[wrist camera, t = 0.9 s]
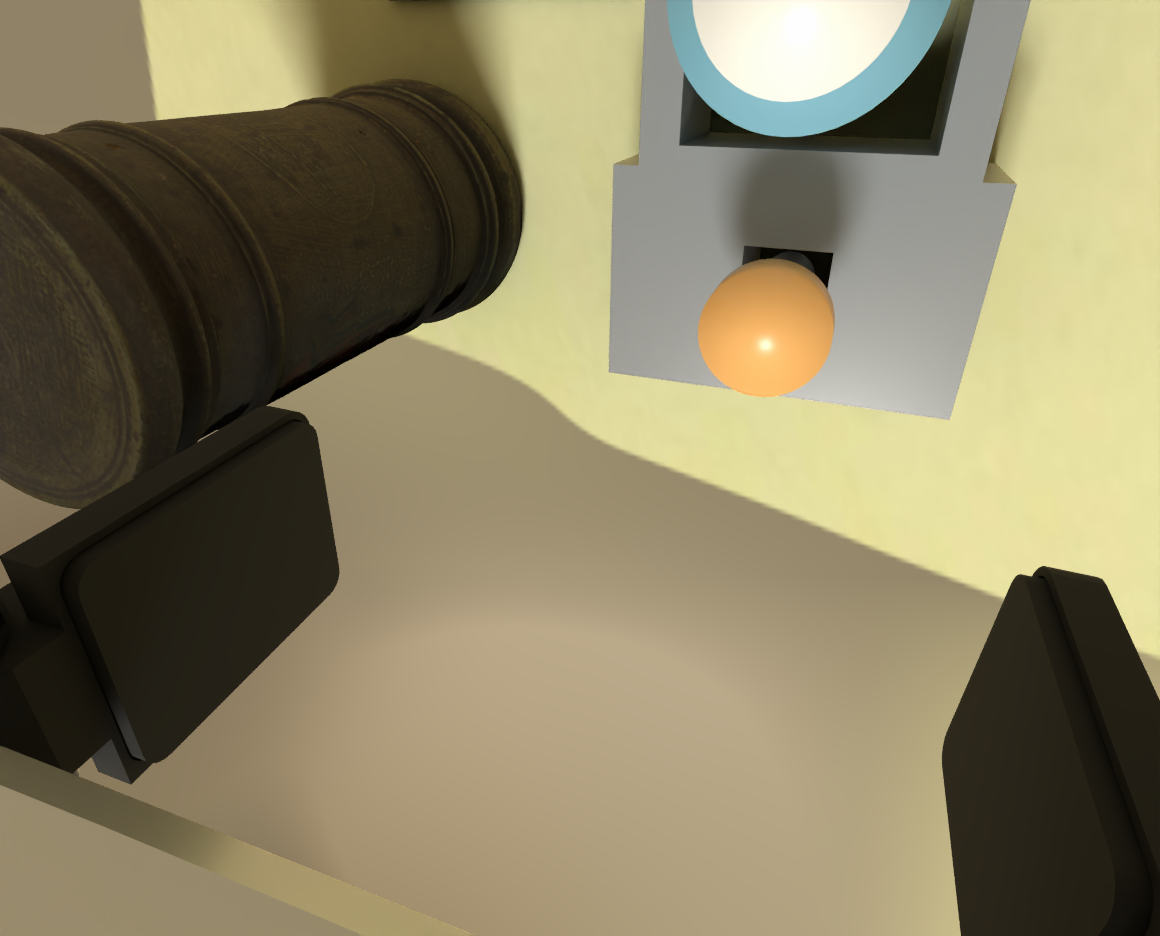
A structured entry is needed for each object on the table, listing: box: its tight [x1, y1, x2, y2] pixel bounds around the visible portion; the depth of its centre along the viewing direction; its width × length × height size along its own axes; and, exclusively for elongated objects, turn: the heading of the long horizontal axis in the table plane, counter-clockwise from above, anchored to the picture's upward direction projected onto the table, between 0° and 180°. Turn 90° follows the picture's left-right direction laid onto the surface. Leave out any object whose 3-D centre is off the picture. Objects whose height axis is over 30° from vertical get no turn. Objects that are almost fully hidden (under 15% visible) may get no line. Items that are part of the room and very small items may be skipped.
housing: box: [609, 0, 1031, 420], centre depth 20 cm, size 11×22×4 cm, turn 0°
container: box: [0, 79, 522, 509], centre depth 22 cm, size 9×9×18 cm
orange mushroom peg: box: [698, 251, 835, 397], centre depth 21 cm, size 3×3×6 cm
